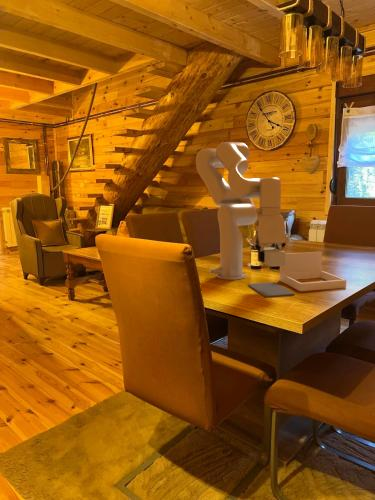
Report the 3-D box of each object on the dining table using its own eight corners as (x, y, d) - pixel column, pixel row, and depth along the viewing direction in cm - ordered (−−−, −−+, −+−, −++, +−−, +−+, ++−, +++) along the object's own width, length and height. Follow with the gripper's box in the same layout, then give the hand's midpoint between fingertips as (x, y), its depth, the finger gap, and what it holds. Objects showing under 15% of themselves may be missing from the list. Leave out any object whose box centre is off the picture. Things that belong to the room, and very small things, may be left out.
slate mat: (265, 297, 130) (265, 295, 130) (248, 285, 146) (248, 284, 146) (294, 295, 132) (294, 293, 132) (274, 283, 149) (274, 282, 148)
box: (270, 266, 131) (270, 252, 130) (257, 260, 143) (257, 247, 142) (285, 265, 132) (285, 251, 131) (271, 259, 144) (271, 247, 143)
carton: (300, 291, 136) (301, 262, 135) (279, 280, 153) (280, 254, 152) (346, 287, 140) (347, 259, 138) (320, 277, 157) (321, 251, 155)
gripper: (251, 213, 130) (251, 264, 133) (296, 211, 133) (295, 261, 136) (244, 212, 137) (244, 260, 140) (287, 210, 141) (286, 258, 143)
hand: (269, 260), depth 138 cm, fingers closed on box, 5 cm apart
